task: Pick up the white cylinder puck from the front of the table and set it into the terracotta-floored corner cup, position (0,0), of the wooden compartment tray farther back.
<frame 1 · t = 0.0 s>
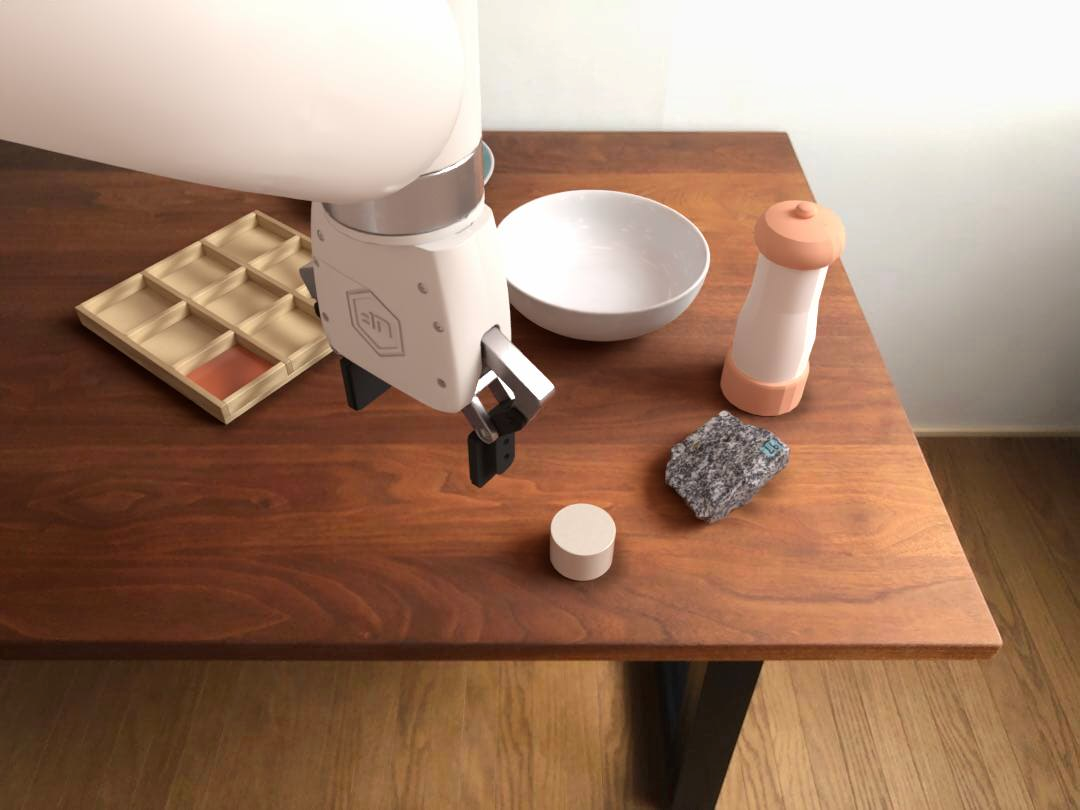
hand: (429, 432, 53), 17 cm above the table, tool pointing down, fingers open, 9 cm apart
rock: (723, 484, 73), on the table
white cylinder puck: (581, 554, 68), on the table
wooden compartment tray: (245, 313, 88), on the table
pepper shaker: (760, 389, 81), on the table
plate: (401, 185, 106), on the table
serving bowl: (595, 303, 90), on the table
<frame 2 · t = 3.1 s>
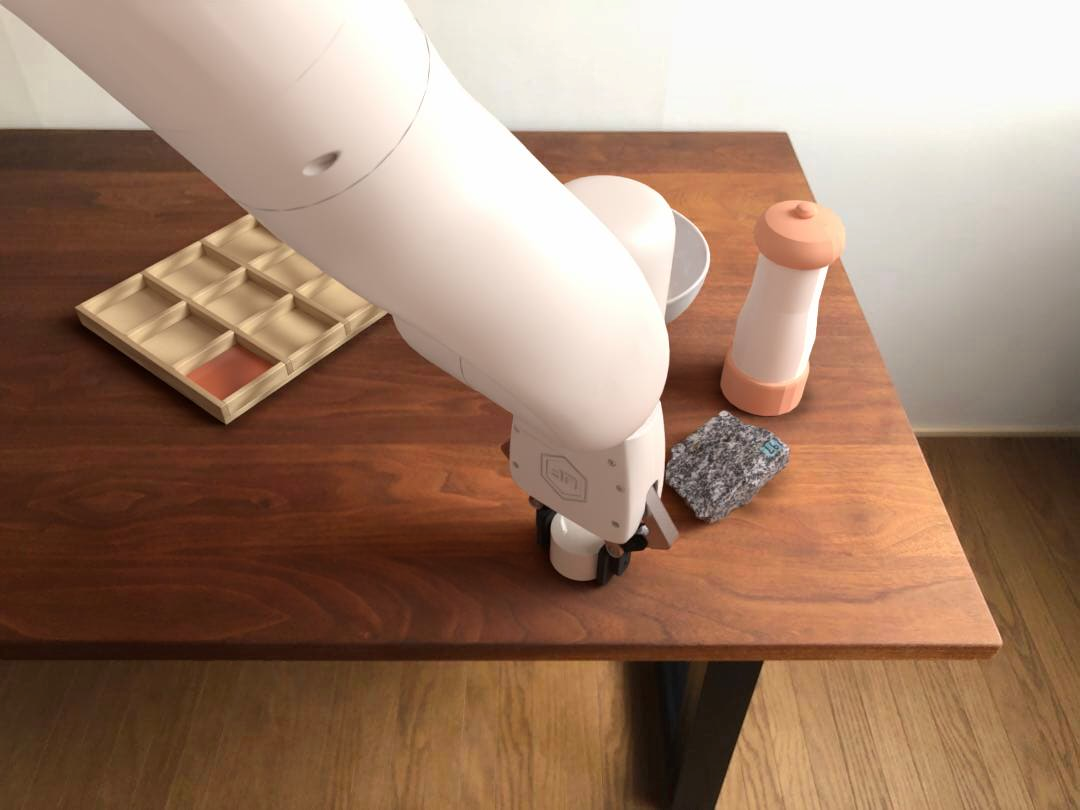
hand: (581, 551, 67), 0 cm above the table, tool pointing down, fingers closed on white cylinder puck, 4 cm apart
white cylinder puck: (581, 554, 68), on the table, touching gripper
everything else where it was.
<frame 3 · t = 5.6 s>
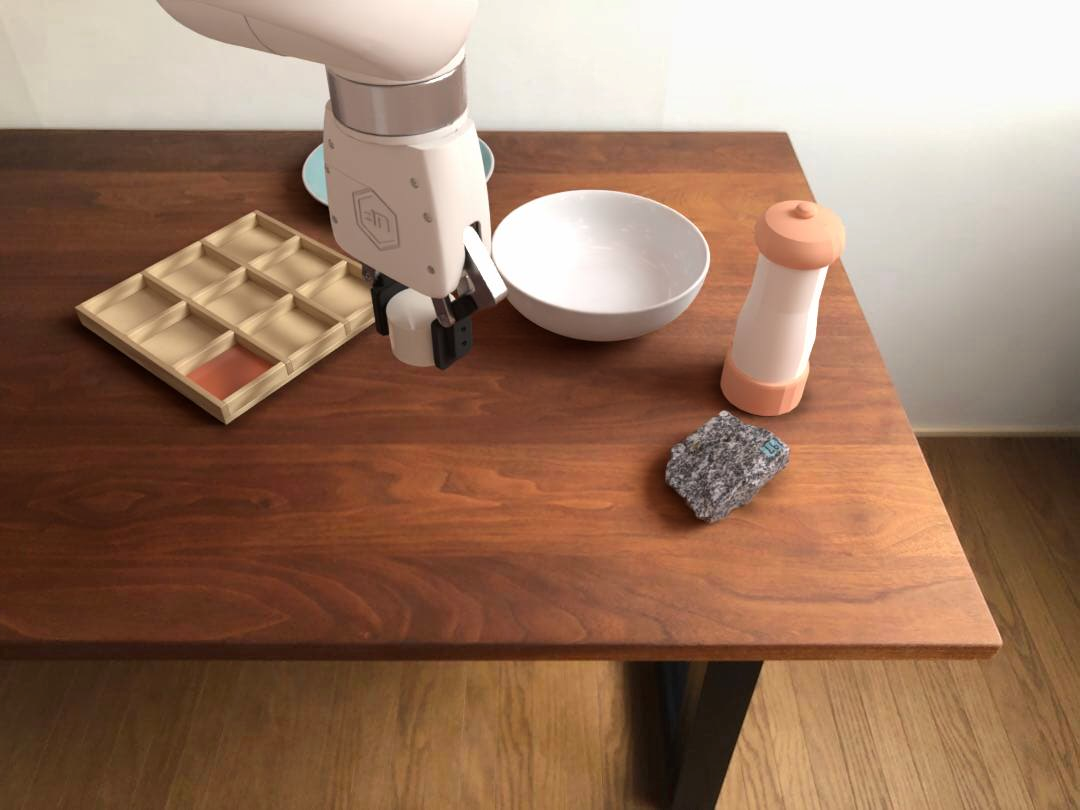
hand: (424, 339, 62), 15 cm above the table, tool pointing down, fingers closed on white cylinder puck, 4 cm apart
white cylinder puck: (425, 343, 62), point 15 cm above the table, touching gripper
everything else where it was.
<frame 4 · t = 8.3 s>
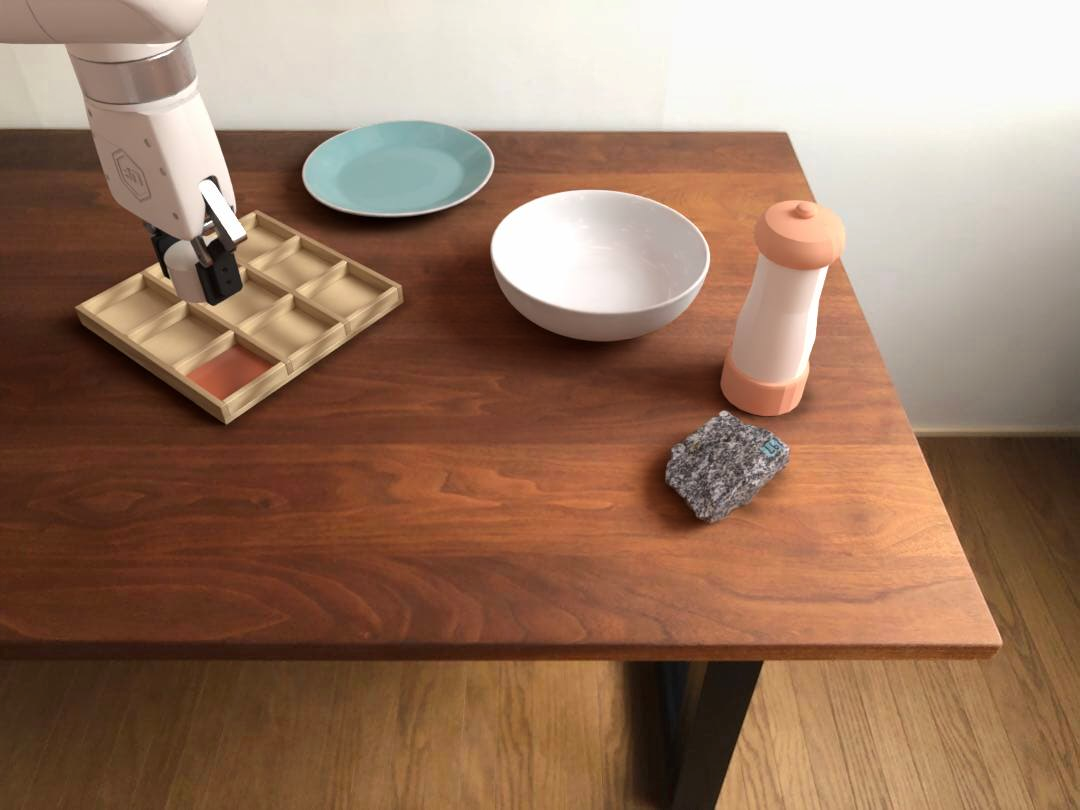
hand: (203, 281, 73), 11 cm above the table, tool pointing down, fingers closed on white cylinder puck, 4 cm apart
white cylinder puck: (205, 285, 73), point 11 cm above the table, touching gripper
everything else where it was.
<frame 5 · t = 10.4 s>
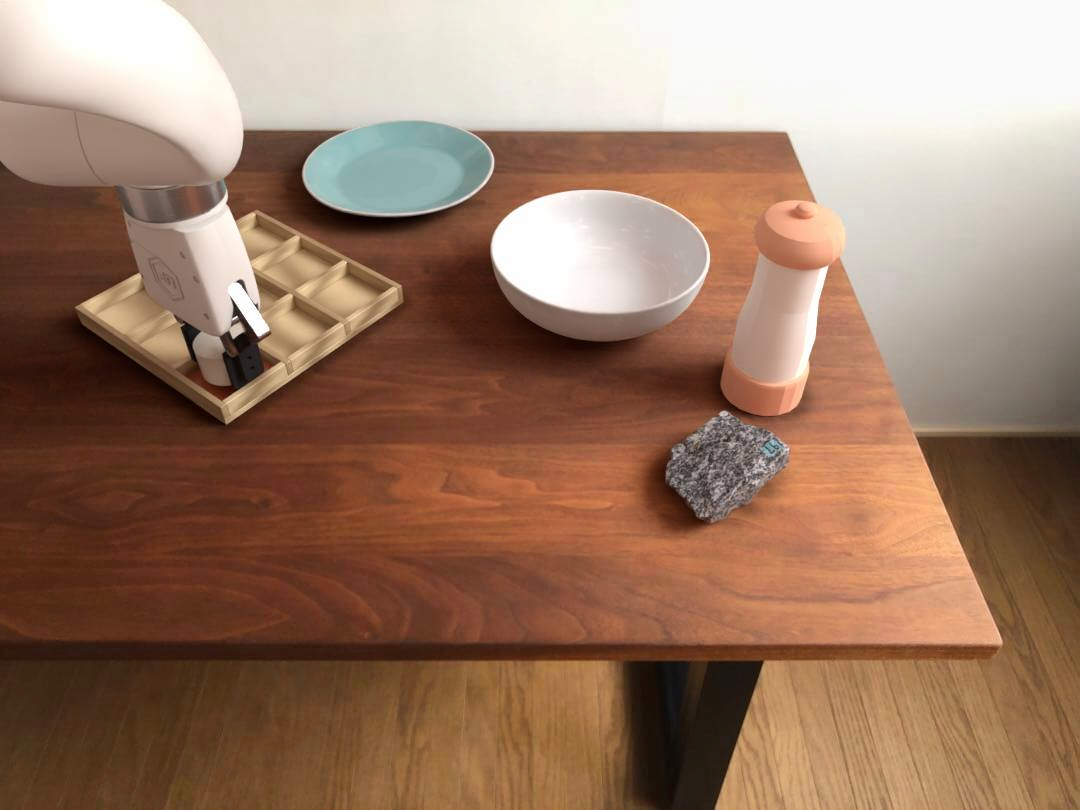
hand: (228, 365, 79), 2 cm above the table, tool pointing down, fingers closed on white cylinder puck, 4 cm apart
white cylinder puck: (229, 367, 80), point 2 cm above the table, touching gripper
everything else where it was.
when the fingers open (2 cm above the table, at t = 13.4 s): white cylinder puck drops 1 cm, resting on wooden compartment tray.
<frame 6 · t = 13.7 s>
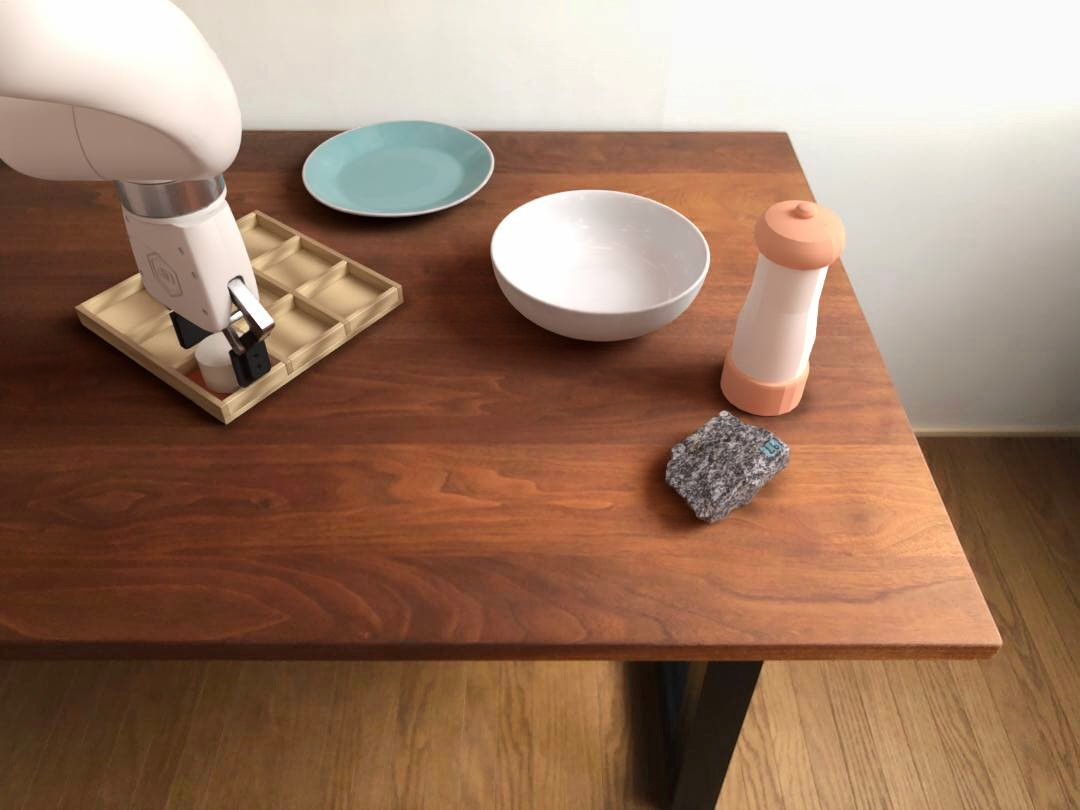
hand: (225, 358, 79), 3 cm above the table, tool pointing down, fingers open, 7 cm apart
white cylinder puck: (231, 375, 80), point 1 cm above the table, touching wooden compartment tray
everything else where it was.
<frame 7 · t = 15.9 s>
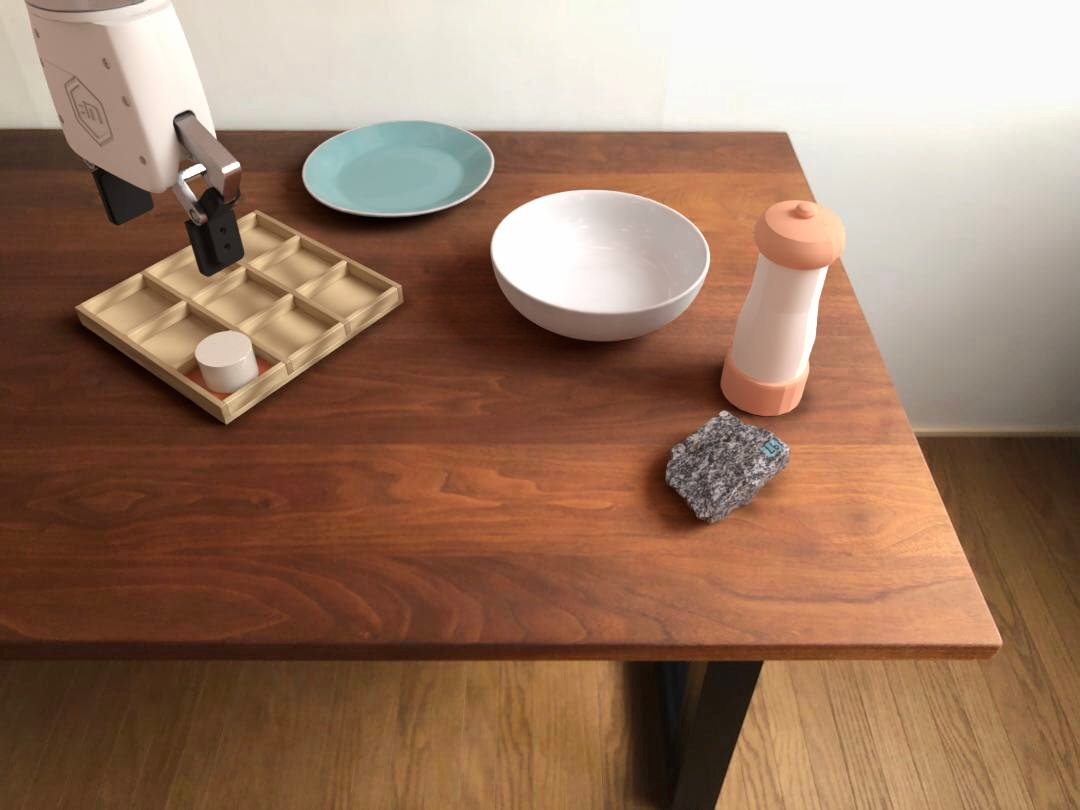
hand: (176, 240, 60), 21 cm above the table, tool pointing down, fingers open, 9 cm apart
nothing on the table moved.
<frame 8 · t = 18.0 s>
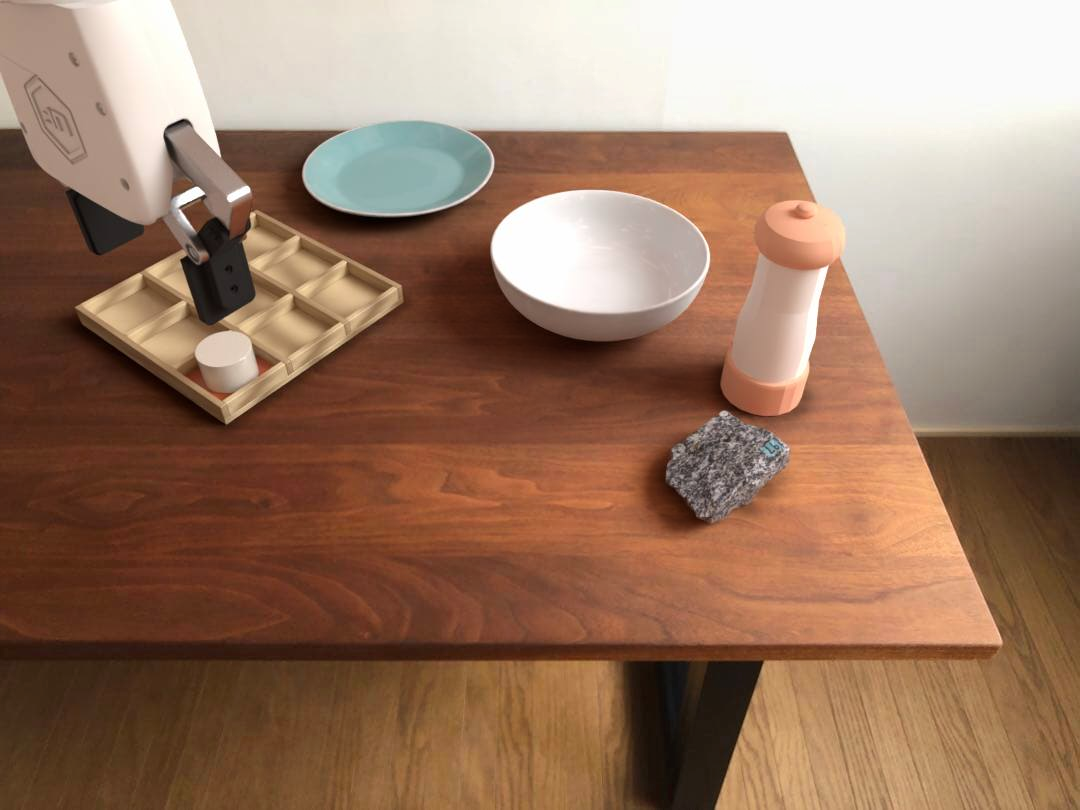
hand: (171, 275, 48), 26 cm above the table, tool pointing down, fingers open, 9 cm apart
nothing on the table moved.
at the end: white cylinder puck 0.0 cm from the target spot in the wooden compartment tray, point 0.8 cm above the wooden compartment tray's base; white cylinder puck tilted 0° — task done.
